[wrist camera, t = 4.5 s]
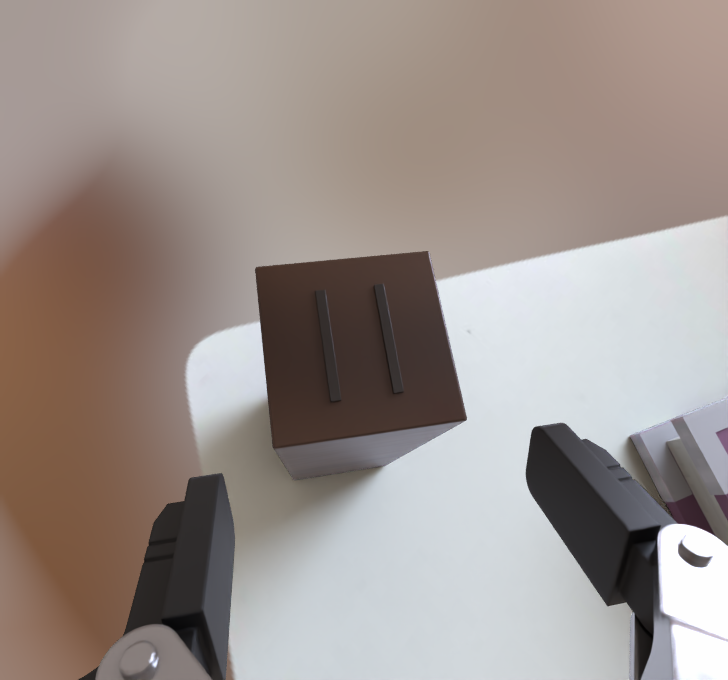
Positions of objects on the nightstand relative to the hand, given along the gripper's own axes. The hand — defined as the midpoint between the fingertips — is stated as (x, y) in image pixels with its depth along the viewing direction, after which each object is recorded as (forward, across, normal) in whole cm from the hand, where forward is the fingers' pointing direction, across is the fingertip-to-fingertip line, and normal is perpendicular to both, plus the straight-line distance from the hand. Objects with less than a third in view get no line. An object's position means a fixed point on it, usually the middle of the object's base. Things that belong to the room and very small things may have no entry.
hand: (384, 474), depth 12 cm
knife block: (+14, 0, +9) cm, 17 cm away
